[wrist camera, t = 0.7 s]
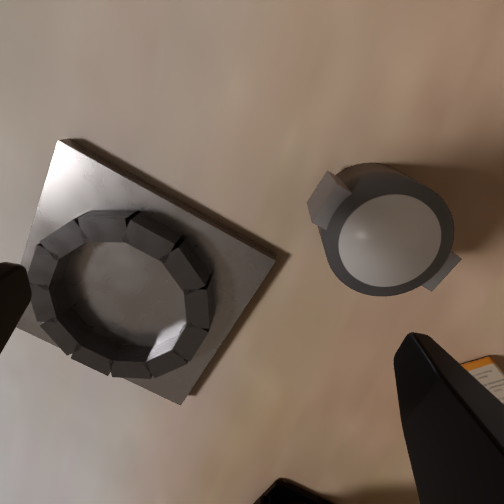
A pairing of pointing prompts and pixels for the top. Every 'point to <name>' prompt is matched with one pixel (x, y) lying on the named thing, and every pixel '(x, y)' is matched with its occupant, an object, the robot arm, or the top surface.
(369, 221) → the domed button housing
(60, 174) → the barrel plate
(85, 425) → the top surface
